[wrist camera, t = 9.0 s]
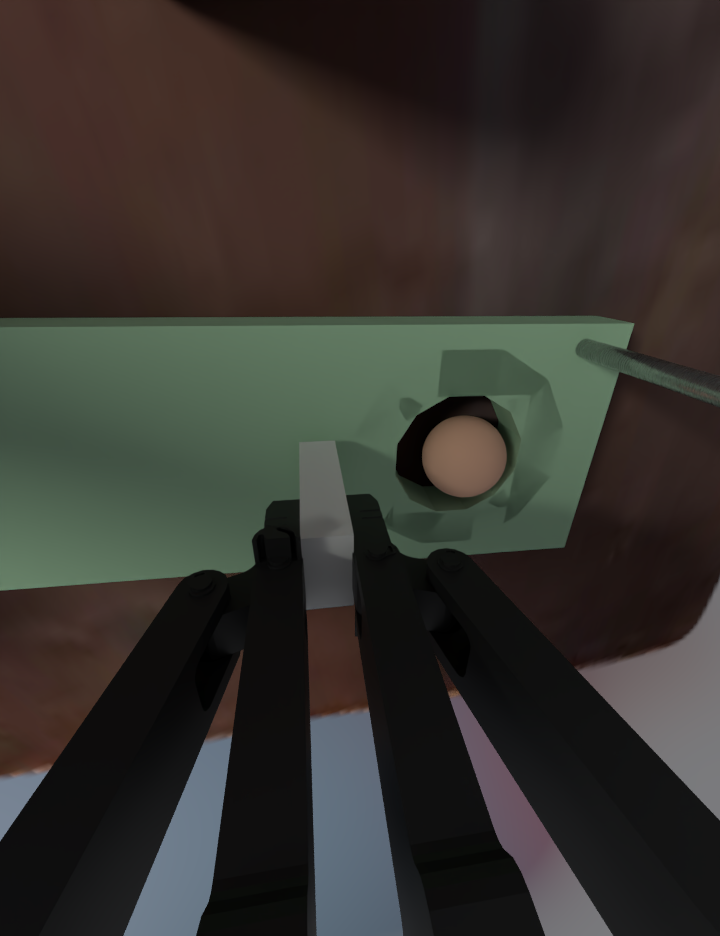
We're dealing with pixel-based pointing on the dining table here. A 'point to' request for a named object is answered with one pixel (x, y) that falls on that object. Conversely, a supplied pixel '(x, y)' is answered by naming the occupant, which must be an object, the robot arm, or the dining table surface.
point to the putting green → (275, 433)
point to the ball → (464, 456)
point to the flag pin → (654, 370)
